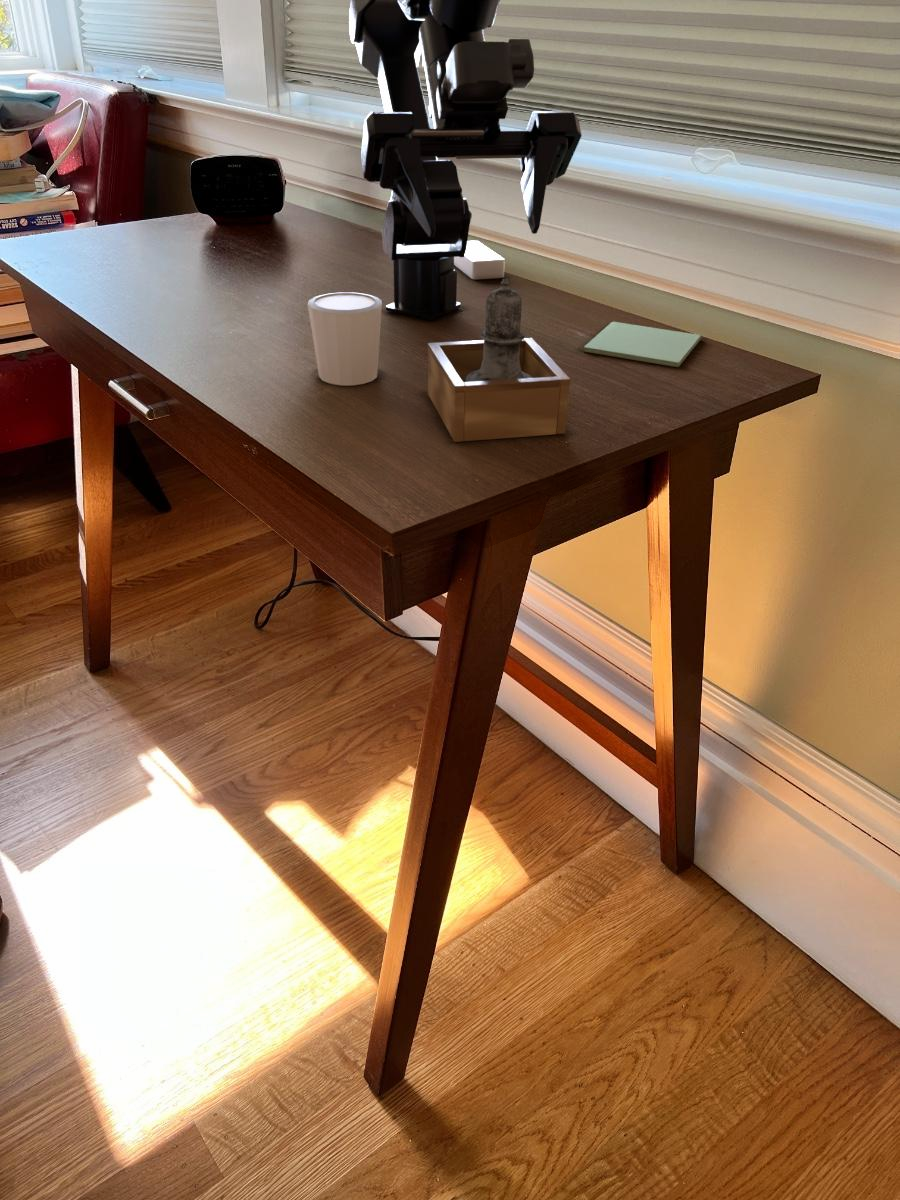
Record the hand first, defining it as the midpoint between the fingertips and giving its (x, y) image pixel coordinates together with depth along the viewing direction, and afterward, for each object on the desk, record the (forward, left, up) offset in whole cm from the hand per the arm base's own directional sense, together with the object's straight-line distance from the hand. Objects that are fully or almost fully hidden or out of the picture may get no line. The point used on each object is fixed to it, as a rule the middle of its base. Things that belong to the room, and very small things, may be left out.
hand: (484, 232), depth 78 cm
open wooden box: (+5, -5, -14) cm, 15 cm away
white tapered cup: (-12, -5, -14) cm, 19 cm away
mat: (+8, +20, -14) cm, 26 cm away
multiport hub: (-23, +37, -14) cm, 46 cm away
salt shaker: (+6, -6, -14) cm, 16 cm away
